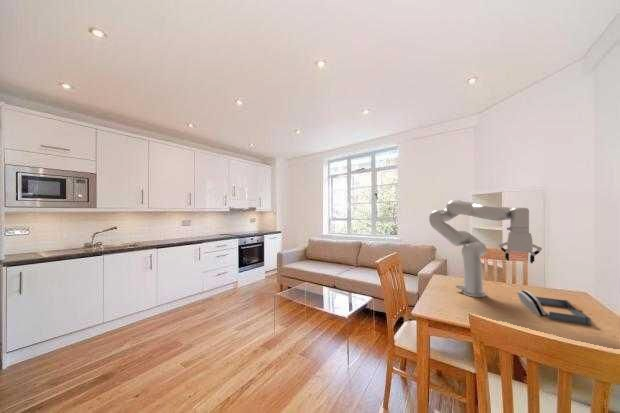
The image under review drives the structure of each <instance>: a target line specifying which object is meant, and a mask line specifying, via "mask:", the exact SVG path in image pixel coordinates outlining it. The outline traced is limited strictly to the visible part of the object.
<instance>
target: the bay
mask: <svg viewBox="0 0 620 413" xmlns="http://www.w3.org/2000/svg"><path fill="white" fill-rule="evenodd" d="M535 297H536V298H537V299H538V300H539V302H540V304H541V305H544V306H545V305H546V306H551V307H552V306H553V307H560V308H566V310H568V311H569V312H570V313H572V314H569V313H563V312H556V311H550V310H549V311H548V314H549V320H550V321H557V322H563V323H570V324H571V323H572V324H578V325H582V326H587V327H592V325H591V324H592V323H591V317H589V315H587V314H585V313H584V311H583V309H581V308H580V307H579V306H577V305H576V304H574V303H571V302H570V301H569V300H567V299H559V298H551V297H541V296H535Z"/></svg>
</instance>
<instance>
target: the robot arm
mask: <svg viewBox="0 0 620 413" xmlns="http://www.w3.org/2000/svg"><path fill="white" fill-rule="evenodd" d="M459 215H463V216H468V217H474V218H478V219H483V220H490V221H497V222H501V221H508V220H509V221H510V223H509V224H510V226H509V227H506V230H507V231H509V232H508V234H507V241H506V242H502V243H500V244H498V247H499V249H501V251H502V252H503V253H504V258H505V259H506V261H510V253H509V252H510V251H511V252H520V253H521V252H522V253H529V254H530V255H529V263H530V264H534V263H535V256H536V255H538V254H540V252H541V251H542V247H541V246H538V245H536V244H534V243H533V236H532V233H530V210H529V208H528V207H509V206H508V207H507V206H499V207H498V206H497V207H496V206H488V205H481V204H479V203H476V202H472V201H471V202H469V201H463V200H459V199H457V200H455V199H454V200H450V201H448V202H447V204H446V208H444V209H438V210H437V209H436V210H433V211H432V212H431V213H430V215H429V217H428V219H429V221H428V222H429V225H430V226H431V227H432V229H434V230H435V231H436V232H437V233H438V234H439V235H441V236H442V237H443V238H444V239H446V240H447V241H448V242H449V243H451V245H453V246H456V247H462V248H461V256H462V262H463V263H462V264H463V265H462V266H463V267H462V268H463V283H462V285H460V284H456V285H455V288H456V289H457V290H461V293H462V294H464V295H465V296H469V297H472V298H473V297H474V298H484V297H486V296H487V293H486V292H485V291H484V290H483V264H482V260H481V257H483V256H485V255H486V254H487V253H488V248H487V245H486V244H485V243H483V242H482V241H481V240H479V239H478V238H477V237H475V236H474V235H472V234H471V233H469V232H468V231H465V230H457V229H455V228H454V226H451V225H450V224H449V223H446V222H449V221H451V220H453V219H454V218H457V216H459ZM504 246H506V249H505V248H504ZM533 248H534V249H536V250H535V251H533Z"/></svg>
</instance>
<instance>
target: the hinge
mask: <svg viewBox="0 0 620 413" xmlns="http://www.w3.org/2000/svg"><path fill="white" fill-rule="evenodd" d="M516 293H517V295H518V298H519V300H520V302H521V304H522V305H523V306H525V307H526V308H527V309H528V310H529V311H531V312H532V313H533V314H534V315H536V316H537V317H541V315H542V316H545V315H546V316H547V317H549V312H547V311H546V310H544V307H543V306H542V305H543V304H540V302H539V300H538V299H537V298H536V297H537V296H535V295H534V294H533V293H532V292H530V291H529V290H524V289H523V290H519V291H516Z"/></svg>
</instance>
